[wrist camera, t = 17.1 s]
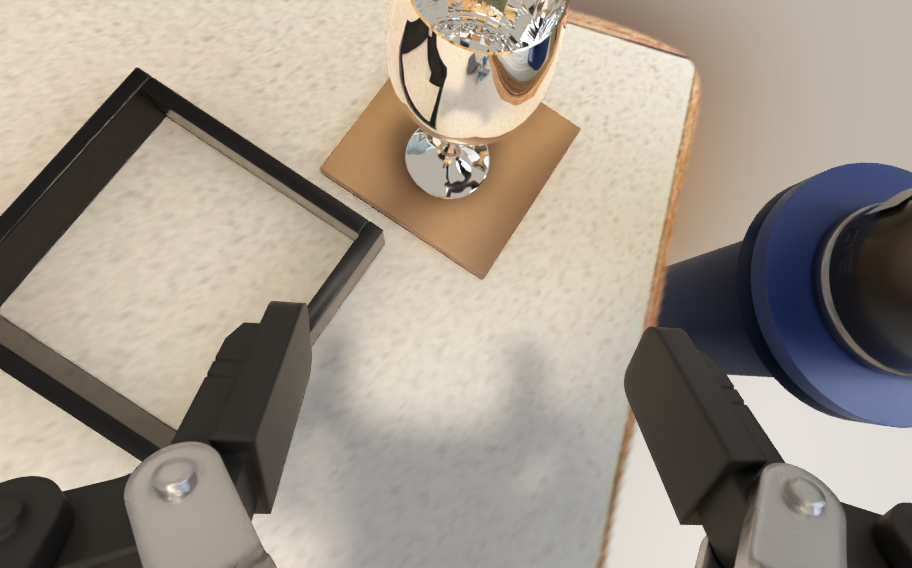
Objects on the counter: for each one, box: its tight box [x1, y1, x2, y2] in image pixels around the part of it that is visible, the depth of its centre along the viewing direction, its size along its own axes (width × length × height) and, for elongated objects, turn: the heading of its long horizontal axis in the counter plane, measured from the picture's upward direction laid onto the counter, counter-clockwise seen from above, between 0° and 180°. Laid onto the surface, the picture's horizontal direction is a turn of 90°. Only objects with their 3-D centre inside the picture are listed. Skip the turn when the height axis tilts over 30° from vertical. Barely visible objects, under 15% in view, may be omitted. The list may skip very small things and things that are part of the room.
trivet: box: [320, 78, 580, 279], centre depth 25 cm, size 10×10×1 cm
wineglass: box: [386, 0, 570, 200], centre depth 19 cm, size 6×6×12 cm
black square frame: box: [0, 68, 385, 462], centre depth 22 cm, size 14×14×2 cm
